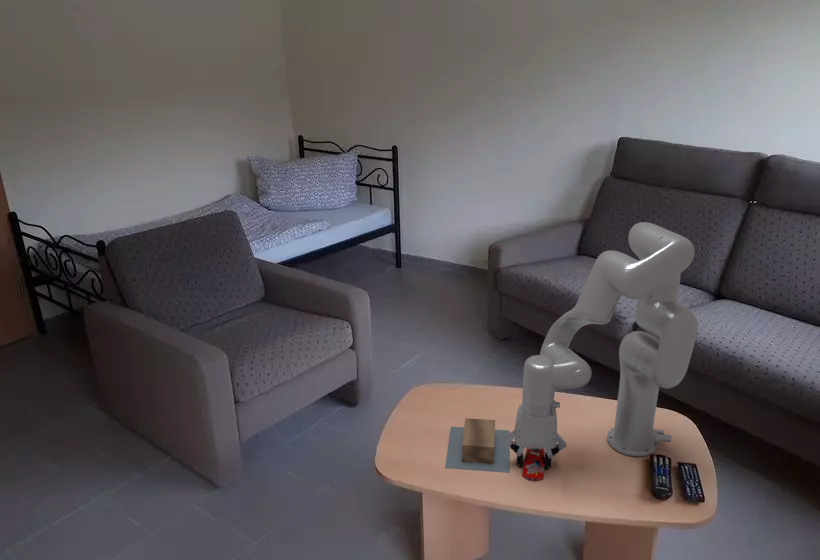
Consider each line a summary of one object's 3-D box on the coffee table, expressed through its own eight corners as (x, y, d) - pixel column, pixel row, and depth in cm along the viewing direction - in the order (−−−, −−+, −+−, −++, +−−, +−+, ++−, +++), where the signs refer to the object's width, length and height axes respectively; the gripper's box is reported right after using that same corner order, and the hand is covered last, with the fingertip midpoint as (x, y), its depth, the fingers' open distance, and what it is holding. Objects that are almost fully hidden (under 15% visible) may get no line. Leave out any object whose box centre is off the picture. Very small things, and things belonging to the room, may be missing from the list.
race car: (542, 488, 162) (543, 474, 160) (520, 484, 163) (520, 471, 161) (546, 455, 173) (547, 442, 172) (525, 452, 175) (526, 439, 173)
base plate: (509, 434, 182) (509, 430, 181) (509, 476, 165) (509, 472, 165) (450, 430, 184) (450, 426, 183) (444, 471, 167) (444, 467, 167)
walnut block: (494, 435, 179) (495, 420, 177) (493, 464, 168) (494, 447, 166) (464, 433, 180) (465, 418, 178) (461, 461, 169) (462, 445, 167)
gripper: (572, 399, 163) (567, 460, 170) (501, 394, 166) (499, 455, 172) (575, 416, 157) (569, 479, 163) (501, 411, 159) (498, 474, 166)
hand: (533, 466), depth 168 cm, fingers closed on race car, 5 cm apart
